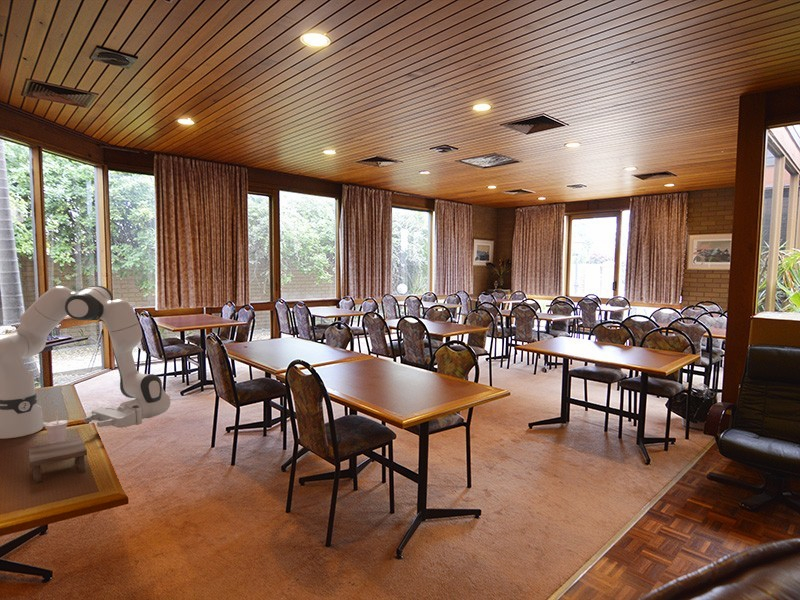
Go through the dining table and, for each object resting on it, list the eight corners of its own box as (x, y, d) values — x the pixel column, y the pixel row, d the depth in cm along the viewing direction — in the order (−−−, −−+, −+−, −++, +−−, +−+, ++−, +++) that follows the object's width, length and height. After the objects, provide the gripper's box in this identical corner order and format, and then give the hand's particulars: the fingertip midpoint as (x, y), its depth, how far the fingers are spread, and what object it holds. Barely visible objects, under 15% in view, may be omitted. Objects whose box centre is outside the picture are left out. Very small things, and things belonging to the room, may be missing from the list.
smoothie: (57, 454, 161) (54, 414, 160) (41, 452, 162) (39, 413, 161) (73, 447, 167) (71, 408, 166) (58, 445, 169) (56, 407, 168)
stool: (29, 469, 149) (28, 447, 149) (82, 457, 158) (81, 437, 158) (31, 485, 138) (29, 462, 138) (87, 471, 147) (86, 450, 147)
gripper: (114, 400, 191) (76, 409, 179) (143, 408, 180) (105, 418, 169) (114, 416, 191) (77, 426, 180) (144, 424, 181) (106, 435, 169)
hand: (91, 422), depth 174 cm, fingers open, 8 cm apart
